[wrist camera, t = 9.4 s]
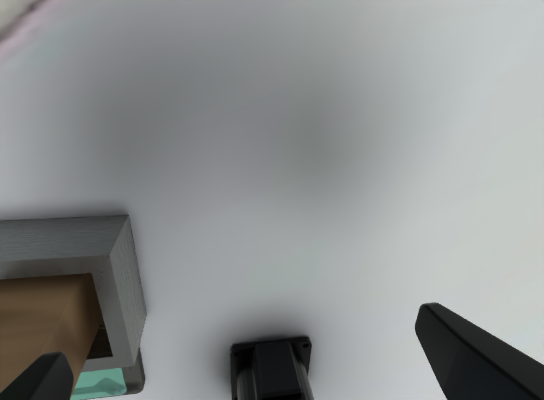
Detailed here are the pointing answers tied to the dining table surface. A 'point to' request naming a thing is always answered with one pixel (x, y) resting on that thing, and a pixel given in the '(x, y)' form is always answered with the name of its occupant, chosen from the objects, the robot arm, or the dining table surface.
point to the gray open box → (85, 259)
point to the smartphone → (110, 382)
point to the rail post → (46, 321)
